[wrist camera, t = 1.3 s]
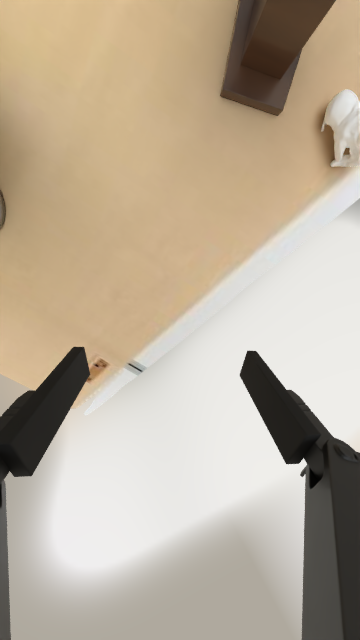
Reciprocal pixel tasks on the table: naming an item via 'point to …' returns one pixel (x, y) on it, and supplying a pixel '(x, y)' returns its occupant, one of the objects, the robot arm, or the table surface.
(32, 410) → the robot arm
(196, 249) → the table surface
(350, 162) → the white animal figurine
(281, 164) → the table surface
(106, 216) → the table surface
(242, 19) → the stand
